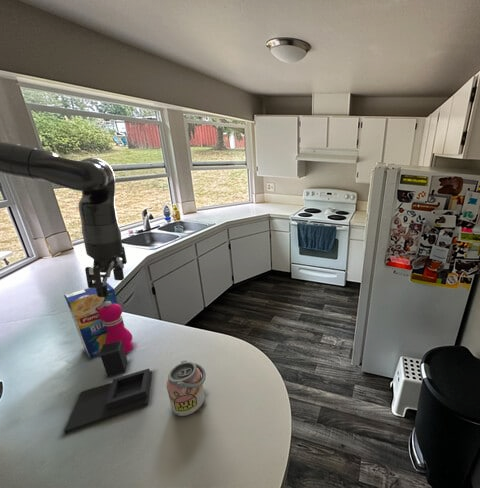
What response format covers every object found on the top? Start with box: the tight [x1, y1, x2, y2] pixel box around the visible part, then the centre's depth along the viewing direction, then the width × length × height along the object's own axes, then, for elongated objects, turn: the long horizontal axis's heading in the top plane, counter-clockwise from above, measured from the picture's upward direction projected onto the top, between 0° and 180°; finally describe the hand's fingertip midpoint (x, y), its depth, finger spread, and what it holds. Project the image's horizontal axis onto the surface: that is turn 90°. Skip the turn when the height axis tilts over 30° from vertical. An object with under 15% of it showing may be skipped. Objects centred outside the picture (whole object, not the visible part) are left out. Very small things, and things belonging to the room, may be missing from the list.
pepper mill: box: [98, 301, 134, 355], centre depth 84 cm, size 7×7×20 cm
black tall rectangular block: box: [98, 340, 129, 378], centre depth 78 cm, size 5×5×9 cm
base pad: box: [63, 368, 153, 434], centre depth 70 cm, size 17×12×4 cm
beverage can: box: [166, 359, 207, 417], centre depth 68 cm, size 9×8×12 cm
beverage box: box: [63, 282, 126, 360], centre depth 86 cm, size 7×11×22 cm, turn 144°
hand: (111, 287), depth 73 cm, fingers open, 8 cm apart
